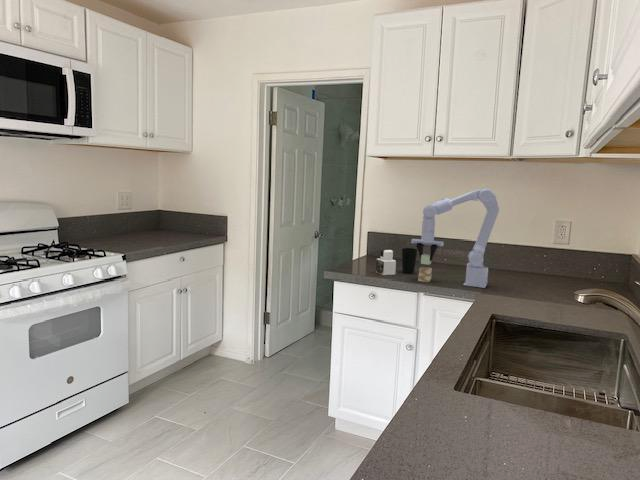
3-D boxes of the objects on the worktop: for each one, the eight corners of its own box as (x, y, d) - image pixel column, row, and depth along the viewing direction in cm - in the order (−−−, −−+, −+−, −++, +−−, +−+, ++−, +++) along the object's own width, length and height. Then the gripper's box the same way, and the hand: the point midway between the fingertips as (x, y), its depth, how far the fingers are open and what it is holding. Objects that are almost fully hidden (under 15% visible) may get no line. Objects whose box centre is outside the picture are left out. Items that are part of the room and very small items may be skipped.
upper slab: (431, 274, 224) (432, 268, 224) (429, 276, 220) (430, 270, 219) (420, 273, 226) (421, 266, 226) (418, 275, 222) (419, 268, 221)
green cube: (431, 263, 223) (431, 254, 223) (429, 264, 220) (429, 256, 219) (422, 262, 225) (423, 254, 225) (420, 263, 222) (421, 255, 221)
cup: (409, 274, 235) (410, 250, 233) (397, 272, 241) (398, 248, 239) (419, 273, 240) (420, 249, 238) (407, 270, 245) (408, 247, 244)
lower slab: (431, 280, 225) (431, 274, 224) (428, 282, 220) (429, 276, 220) (420, 279, 227) (421, 273, 226) (418, 281, 222) (418, 275, 222)
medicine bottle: (375, 272, 238) (376, 248, 236) (387, 271, 240) (389, 248, 239) (382, 275, 231) (384, 251, 229) (395, 274, 234) (397, 250, 232)
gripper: (445, 231, 221) (443, 260, 223) (414, 228, 227) (413, 257, 229) (442, 233, 214) (440, 262, 216) (411, 230, 221) (409, 259, 223)
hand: (426, 260), depth 222 cm, fingers closed on green cube, 4 cm apart
